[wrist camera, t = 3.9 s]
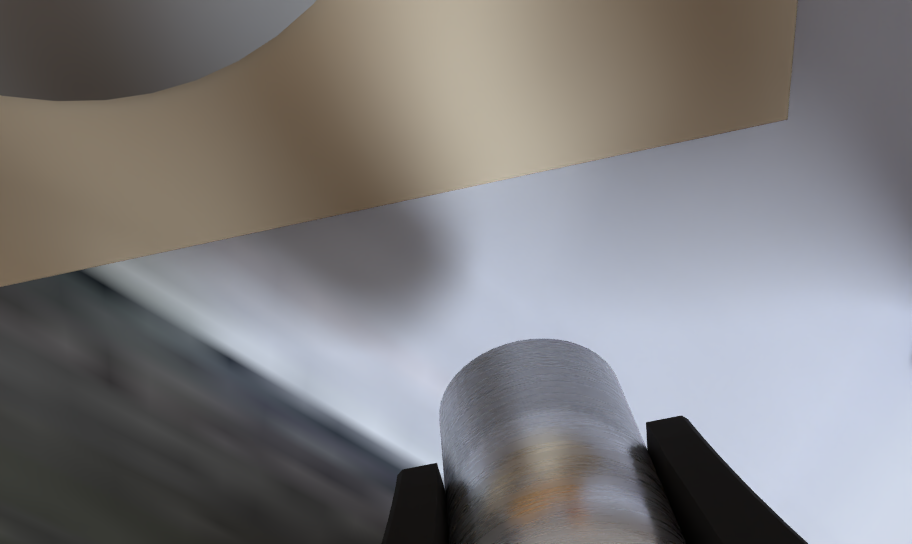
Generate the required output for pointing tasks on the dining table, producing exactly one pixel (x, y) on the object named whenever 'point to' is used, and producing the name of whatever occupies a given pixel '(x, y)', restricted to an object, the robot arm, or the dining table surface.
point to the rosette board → (341, 107)
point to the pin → (547, 453)
